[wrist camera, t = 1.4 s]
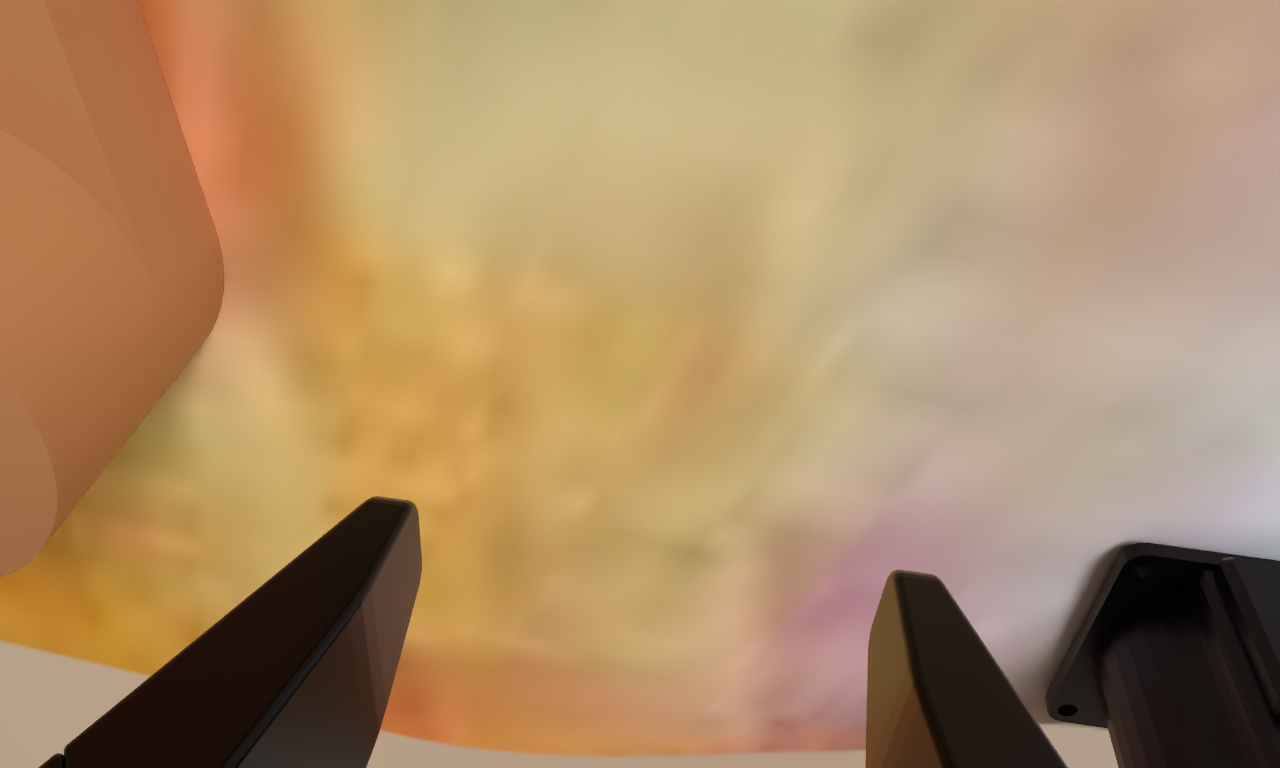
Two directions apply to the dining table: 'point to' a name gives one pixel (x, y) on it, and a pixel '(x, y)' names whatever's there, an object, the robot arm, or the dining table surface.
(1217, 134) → the dining table surface
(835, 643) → the dining table surface
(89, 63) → the brown hollow cylinder
